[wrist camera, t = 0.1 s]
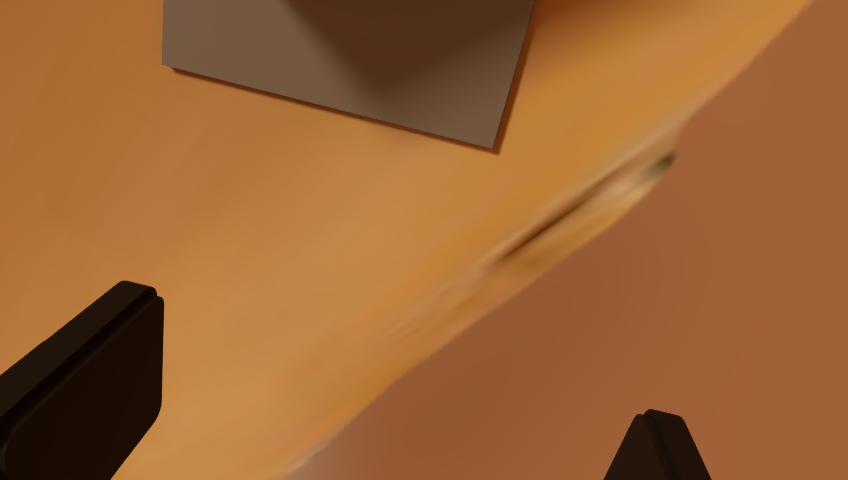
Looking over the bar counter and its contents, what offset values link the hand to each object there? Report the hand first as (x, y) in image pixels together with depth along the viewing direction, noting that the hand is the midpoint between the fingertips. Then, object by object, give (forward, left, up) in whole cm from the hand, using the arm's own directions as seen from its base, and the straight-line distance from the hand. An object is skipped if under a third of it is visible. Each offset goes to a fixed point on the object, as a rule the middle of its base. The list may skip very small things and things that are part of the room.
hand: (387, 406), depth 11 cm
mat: (-5, -9, -31) cm, 33 cm away
